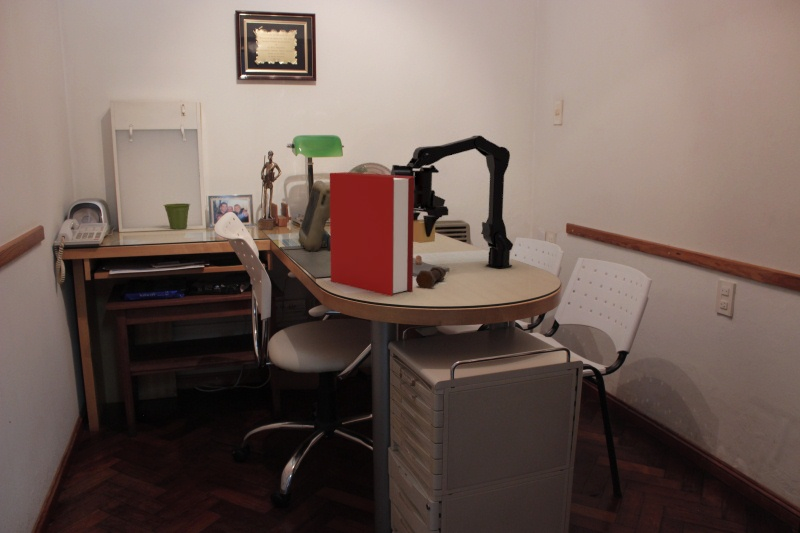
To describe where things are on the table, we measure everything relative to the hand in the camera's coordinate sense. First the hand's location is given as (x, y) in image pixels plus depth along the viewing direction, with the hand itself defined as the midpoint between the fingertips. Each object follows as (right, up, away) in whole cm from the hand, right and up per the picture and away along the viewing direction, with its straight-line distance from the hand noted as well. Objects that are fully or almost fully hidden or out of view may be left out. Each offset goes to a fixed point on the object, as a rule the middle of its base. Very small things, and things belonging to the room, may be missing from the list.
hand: (421, 235), depth 209 cm
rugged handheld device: (-40, -2, +50) cm, 65 cm away
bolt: (+3, -15, -17) cm, 23 cm away
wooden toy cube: (0, -2, 0) cm, 2 cm away
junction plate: (-1, -11, +1) cm, 11 cm away
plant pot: (-111, +8, +93) cm, 145 cm away
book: (-16, -16, -21) cm, 31 cm away
